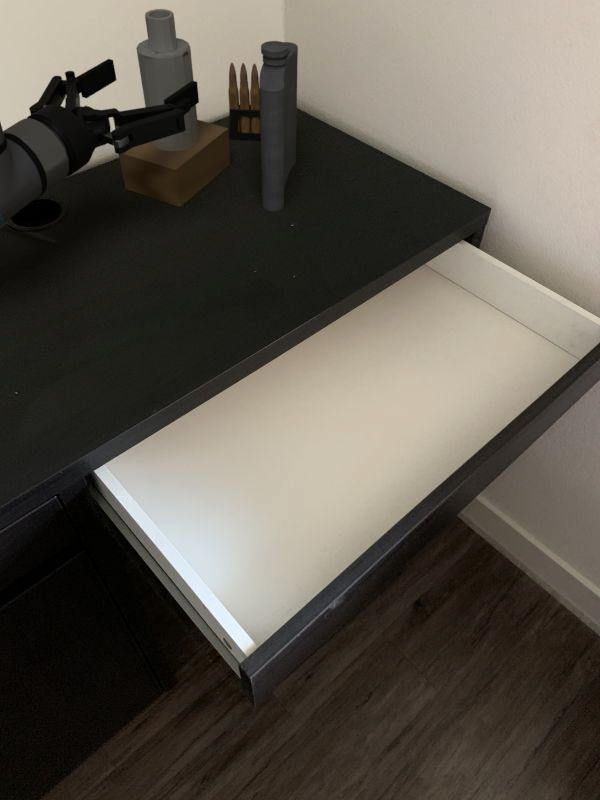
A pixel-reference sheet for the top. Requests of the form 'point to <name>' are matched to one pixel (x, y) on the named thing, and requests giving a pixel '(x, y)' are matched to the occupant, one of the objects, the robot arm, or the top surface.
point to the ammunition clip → (244, 105)
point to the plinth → (177, 166)
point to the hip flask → (277, 119)
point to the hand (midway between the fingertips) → (153, 80)
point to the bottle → (166, 74)
